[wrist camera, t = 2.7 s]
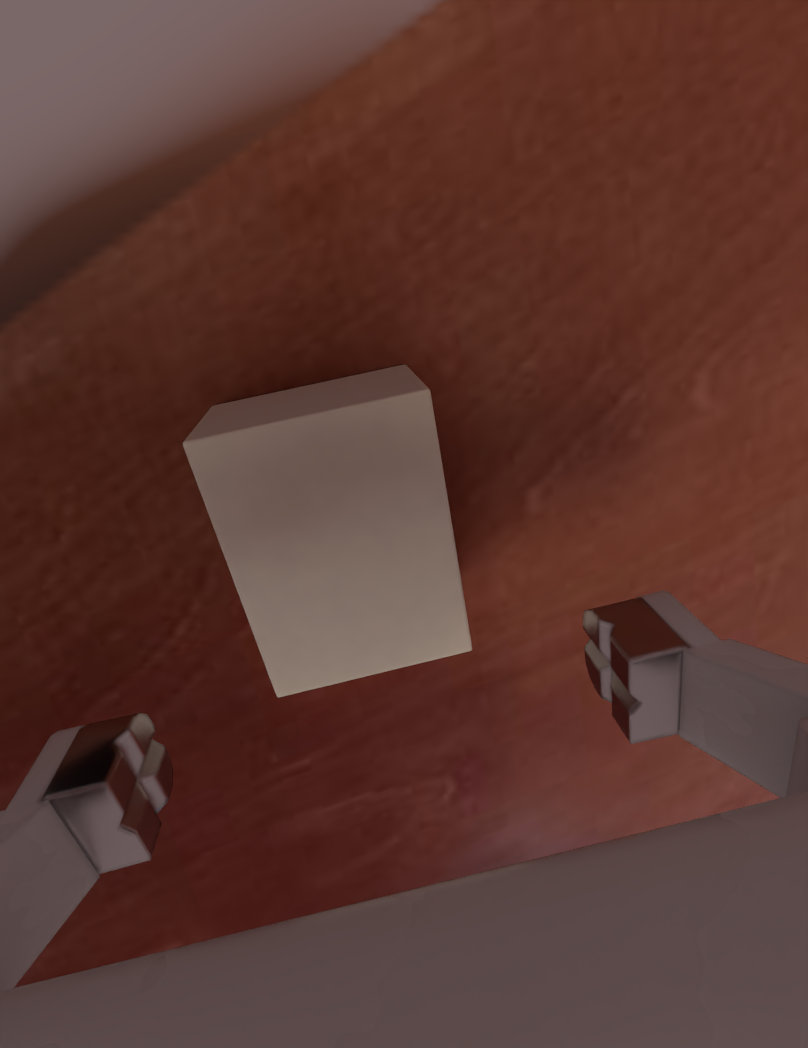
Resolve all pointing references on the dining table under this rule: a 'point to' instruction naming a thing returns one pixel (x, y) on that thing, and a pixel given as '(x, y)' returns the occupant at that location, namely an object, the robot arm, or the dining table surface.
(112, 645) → the dining table surface
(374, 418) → the beige rectangular block
